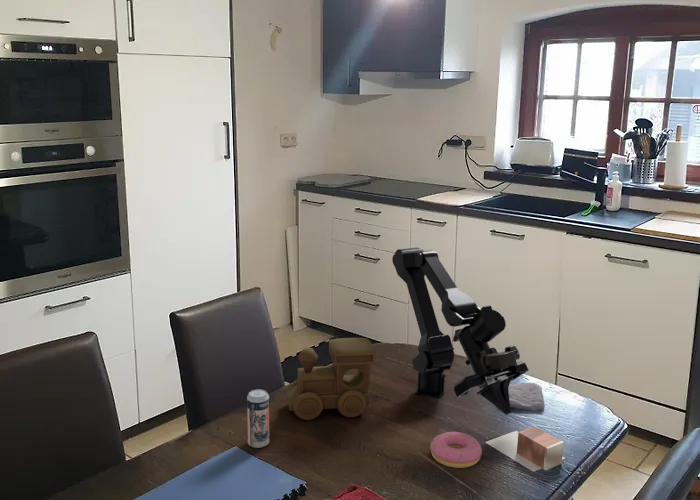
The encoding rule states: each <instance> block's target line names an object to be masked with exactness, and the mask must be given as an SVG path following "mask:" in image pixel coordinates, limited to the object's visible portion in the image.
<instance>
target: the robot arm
mask: <svg viewBox="0 0 700 500" xmlns="http://www.w3.org/2000/svg"><path fill="white" fill-rule="evenodd" d="M391 259H392V264H393V266H394V269H395V271H396V274H397V276H398V277H399V278H400V279H401V280H402V281H403V282H405V284H406V287H407V291H408V294H409V298H410V301H411V304H412V309H413V312H414V315H415V318H416V322H417V323H416V324H417V325H418V330H419V333H420V339H419V343H418V346H417V348H418V354H417V355H416V356H415V357H414V358H413V359H412V361H411V362H412V368H413V369H414V370H415V371H416V372H418V373H417V374H418V375H417V388H416V389H415V392H414V393H415V394H416V395H420V396H421V395H422V396H427V397H431V398H432V397H433V398H438V399H439V398H441V396H442V395H443V394H444V393H445V391H446V390H447V378H448V377H447V374H446V372H445V371H449V370H451V368H452V365H453V363H454V359H455V351H454V350H455V348H454V346H453V344H452V342H453V343H456V342H459V343H460V345H461V348H462V349H463V351H464V353H465V355H466V358H467V359H466V361H464V362H465V364H466V366H470V367H471V369H472V370H473V372H474V374H472V375H468V376H465V377H463V378H462V379H461V380H459V381H457V382H456V383H455V384H454V387H453V391H454V394H455V395H456V398H460V397H463V396H466V395H468V393H469V390H472V389H476V388H478V390H479V391H477V392H476V395H477V396H479V395H480V396H482V398H484V399H485V400H487V401H489V402H490V403H491V404H493V405H494V406H495V407H496V408H497V409H498V410H500V411H501V412H502V413H503V414H504V415H506V416H507V415H510V414H511V413H512V410H511V409H512V407H510V400H509V389H508V388H509V384H511V382H512V381H514V380H516V379H517V378H520V376H523V375H524V374H526V373H527V372H529V370H530V369H529V368H528V366H527V364H526V362H525V361H522V360H520V358H521V357H520V356H521V355H520V352H519V349H518V348H517V347H516V345H510V346H506V347H505V348H504V351H502V352H498V350H497V348H495V347H490V345H489V342H491V341H492V340H493V339H495V338H496V337H497V336H498V335H500V334H501V333H502V332H503V331H504V330H505V329H506V319H505V317H504V316H503V315H502V314H501V313H500V312H498V311H497V310H494V309H493V308H492V306H491V305H484V306H482V307H479V306H478V305H477V304H476V302H475V301H474V299H473V298H471V296H470V295H469V294H467V293H465V292H464V291H461V290H460V289H459V288H458V286H457V285H456V283H455V282H454V281H453V278H452V277H451V276H450V274H449V273H448V271H447V269H446V268H445V266H444V265H443V263H442V262H441V260H440V259H439V254H438V253H437V251H435V250H432V249H430V250H424V249H421V248H420V247H417V246H416V247H409V248H407V247H406V248H399V249H396V251H395V253H394V254H393V255H392V258H391ZM425 277H426V279H427V280H428V282H429V283H430V285H431V287H432V288H433V290H434V291H435V293H436V295H437V296H438V298H439V299H440V301H441V309H440V310H441V313H442V315H443V318H444V319H445V322H446V324H448V325H449V326H450V327H454V328H456V327H460V326H464V327H463V328H459V329H455V330H454V336H453V339H452V338H451V336H450V335H449V334H445V333H443V332H442V330H441V329H440V327H439V324H438V320H437V316H436V313H435V309H434V306H433V302H432V299H431V295H430V293H429V289H428V286H427V282H426V279H425ZM451 339H452V340H451ZM517 360H519V361H517Z"/></svg>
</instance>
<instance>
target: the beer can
mask: <svg viewBox="0 0 700 500" xmlns="http://www.w3.org/2000/svg"><path fill="white" fill-rule="evenodd" d="M246 403H247V404H246V406H247V408H246V409H247V445H249V446H250V447H252V448H255V449H260V448H264V447H266V446H267V445H269V443H270V395H269V393H268V392H267V391H266V390H264V389H257V388H256V389H252V390H250V391H249V392H248V394H247V397H246Z"/></svg>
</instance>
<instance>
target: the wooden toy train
mask: <svg viewBox="0 0 700 500" xmlns="http://www.w3.org/2000/svg"><path fill="white" fill-rule="evenodd" d="M328 352H329V356H330V358H331V363H332V366H329V365H328V366H323V365H321V366H315V364H316V363H317V360H318V358H319V355H318V354H317V353H316V351H315V350H314V348H313V347H304V348H303V349H302V350H301V352H300V353H299V355H298V357H297V358H298V360H299V362H300V364H301V366H302V367H299V368H297V378H296V379H295V380H294V381H293V382H292V384H291V386H290V389H289V390H288V391H286V398H287V399H286V400H287V405H288V410H289V412H290V411H291V412H292V411H293V412H294V414H295V416H297V417H298V418H299V419H301V420H304V421H311V420H314V419H316V418H318V417H319V416H320V415H321V413H322V412H323V410H326V409H329V410H330V409H337V410H338V412H339V413H340V415H342V416H344V417H345V418H356V417H358V416H360V415H362V414H363V413H364V411H365V410H366V407H370V398H371V397H370V395H371V394H370V391H369V389H370V383H371V370H372V369H371V368H372V367H371V365H373V364H375V361H376V358H375V357H376V352H375V348H374V345H373V344H372V342H371V341H370V340H369V339H368V338H367V337H343V338H341V337H340V338H332V339H329V340H328ZM350 370H356V371H355V372H354V373H353V374H352V375H351V374H346V373H347V372H349V371H350Z"/></svg>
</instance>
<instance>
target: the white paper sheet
mask: <svg viewBox="0 0 700 500" xmlns="http://www.w3.org/2000/svg"><path fill="white" fill-rule="evenodd" d="M518 432H519V431H518V430H514V431H512V432H508V433H506V434H503V435H501V436H498V437H496V438H492V439H490V440H487V441H485V444H487V445H489V446H490V447H491V448H494V449H495V450H497V451H499V452H500V453H502V454H504V455H505V456H507V457H508V458H510V459H512V460H513V461H515V462H517V463H518V464H520V465H522V466H523V467H525V468H527V469H528V470H530V471H532V472H533V473H534V472H536V471H539V470H543V469H542V468H541V467H539V466H537V465H536V464H534V463H532V462H531V461H529V460H527V459H526V458H524V457H522V456H520V455H519V454H517V443H518ZM565 459H566V457H564V456H562V461H563V460H565Z"/></svg>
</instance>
